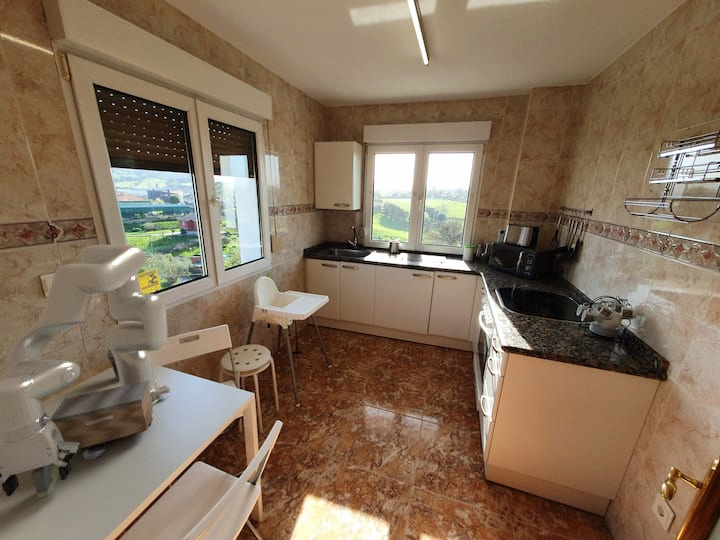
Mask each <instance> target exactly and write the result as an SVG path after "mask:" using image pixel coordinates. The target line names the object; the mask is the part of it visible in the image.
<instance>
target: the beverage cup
mask: <svg viewBox="0 0 720 540" xmlns="http://www.w3.org/2000/svg"><path fill="white" fill-rule="evenodd" d="M107 358H108V360H109V362H110V365H111V367H112V369H113V372H114V375H115V377H116V380H117V381H119V382H120V380H119V375H118V371H117V366H116V362H115V359H114V356H113V354H112V352H111V350H110V349H109V348H108V350H107Z"/></svg>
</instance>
